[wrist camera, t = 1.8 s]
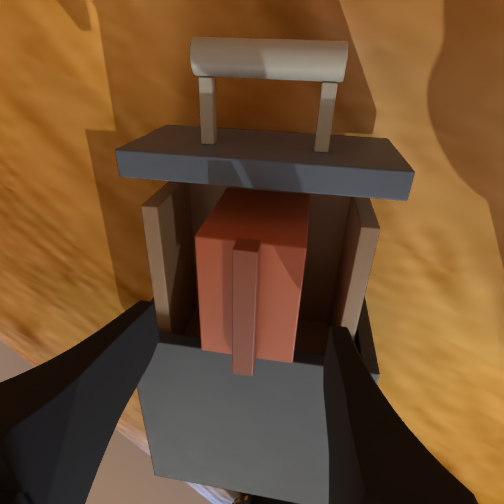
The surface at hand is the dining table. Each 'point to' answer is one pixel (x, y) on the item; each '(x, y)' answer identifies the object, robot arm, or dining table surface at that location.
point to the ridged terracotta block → (252, 275)
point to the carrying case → (259, 500)
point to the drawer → (267, 185)
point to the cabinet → (242, 418)
